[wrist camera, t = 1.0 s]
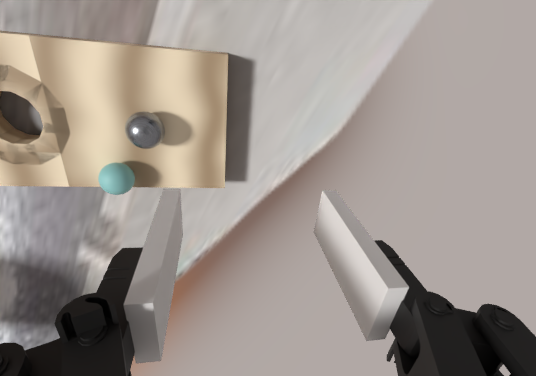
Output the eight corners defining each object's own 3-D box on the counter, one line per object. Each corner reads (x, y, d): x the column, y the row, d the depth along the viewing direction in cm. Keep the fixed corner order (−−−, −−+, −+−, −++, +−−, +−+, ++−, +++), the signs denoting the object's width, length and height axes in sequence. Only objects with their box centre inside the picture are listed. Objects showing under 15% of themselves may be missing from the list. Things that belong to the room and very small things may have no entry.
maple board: (227, 52, 26) (228, 54, 24) (224, 177, 32) (224, 188, 30) (-85, 22, 22) (-119, 21, 20) (-21, 173, 28) (-41, 185, 26)
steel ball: (166, 108, 25) (159, 117, 22) (168, 142, 27) (163, 155, 24) (128, 106, 25) (116, 115, 22) (132, 141, 26) (123, 153, 23)
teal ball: (136, 158, 27) (127, 171, 24) (140, 185, 28) (132, 200, 26) (102, 157, 26) (89, 170, 24) (107, 185, 28) (96, 200, 25)
